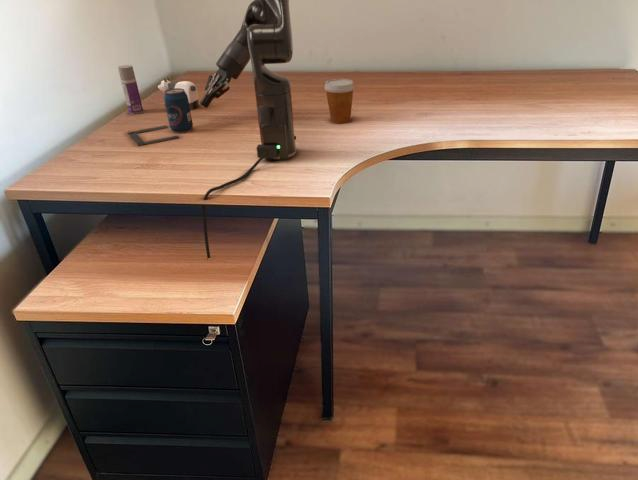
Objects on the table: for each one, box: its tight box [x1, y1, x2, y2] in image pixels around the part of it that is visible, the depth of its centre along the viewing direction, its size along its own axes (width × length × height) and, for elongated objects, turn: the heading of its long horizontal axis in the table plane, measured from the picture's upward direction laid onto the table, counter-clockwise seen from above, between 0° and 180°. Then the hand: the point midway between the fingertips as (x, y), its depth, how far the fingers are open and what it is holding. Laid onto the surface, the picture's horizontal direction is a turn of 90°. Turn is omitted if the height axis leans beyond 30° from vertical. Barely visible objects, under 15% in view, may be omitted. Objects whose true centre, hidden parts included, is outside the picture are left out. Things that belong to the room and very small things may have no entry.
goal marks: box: [127, 125, 180, 147], centre depth 166 cm, size 12×14×1 cm
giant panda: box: [157, 77, 200, 111], centre depth 189 cm, size 15×6×10 cm, turn 72°
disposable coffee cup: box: [323, 78, 355, 124], centre depth 173 cm, size 10×10×12 cm
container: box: [117, 64, 144, 115], centre depth 183 cm, size 5×5×15 cm
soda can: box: [163, 88, 194, 134], centre depth 167 cm, size 7×7×12 cm
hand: (203, 105), depth 171 cm, fingers closed
